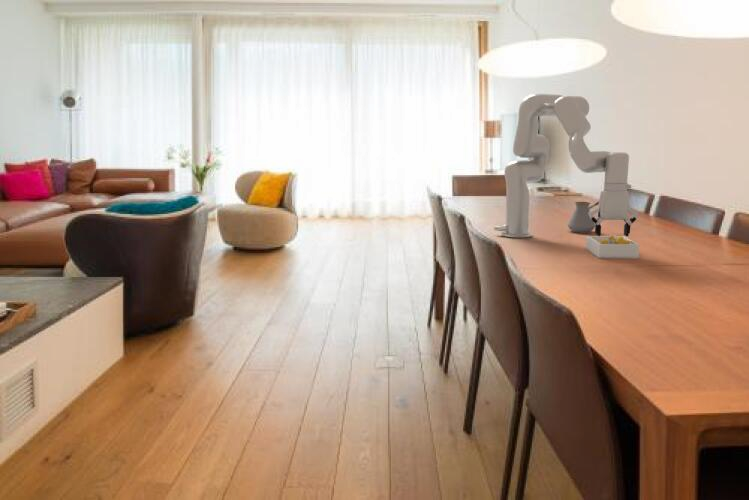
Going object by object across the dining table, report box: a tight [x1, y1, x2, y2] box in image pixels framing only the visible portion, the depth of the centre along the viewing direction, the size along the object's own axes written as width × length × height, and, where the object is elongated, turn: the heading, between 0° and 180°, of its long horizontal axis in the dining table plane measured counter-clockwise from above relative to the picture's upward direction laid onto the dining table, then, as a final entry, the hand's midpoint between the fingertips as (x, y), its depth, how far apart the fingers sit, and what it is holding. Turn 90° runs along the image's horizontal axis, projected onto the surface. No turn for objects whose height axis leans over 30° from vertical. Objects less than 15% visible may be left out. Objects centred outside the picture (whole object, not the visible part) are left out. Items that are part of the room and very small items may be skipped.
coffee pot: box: [567, 200, 599, 234], centre depth 269 cm, size 21×12×15 cm, turn 113°
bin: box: [585, 235, 640, 260], centre depth 220 cm, size 13×17×5 cm
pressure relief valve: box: [599, 234, 630, 244], centre depth 215 cm, size 6×12×10 cm
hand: (612, 235), depth 219 cm, fingers open, 9 cm apart
